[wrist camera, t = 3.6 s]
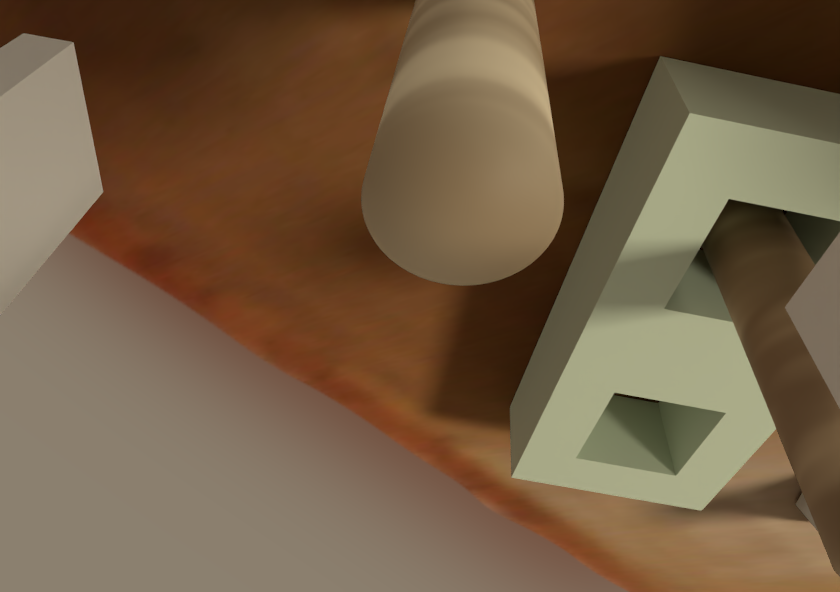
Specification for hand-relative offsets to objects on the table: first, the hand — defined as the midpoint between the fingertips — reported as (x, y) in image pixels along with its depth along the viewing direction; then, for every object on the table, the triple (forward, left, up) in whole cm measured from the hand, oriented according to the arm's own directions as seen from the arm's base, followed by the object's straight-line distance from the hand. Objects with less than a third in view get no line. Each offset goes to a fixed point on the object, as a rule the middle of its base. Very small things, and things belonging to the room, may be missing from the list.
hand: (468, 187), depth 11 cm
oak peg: (+6, +12, -14) cm, 19 cm away
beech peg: (-1, 0, -14) cm, 14 cm away
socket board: (+11, +12, -14) cm, 21 cm away
